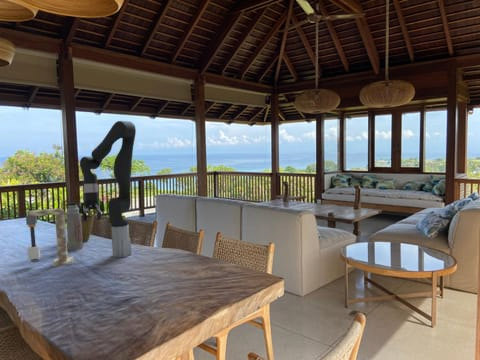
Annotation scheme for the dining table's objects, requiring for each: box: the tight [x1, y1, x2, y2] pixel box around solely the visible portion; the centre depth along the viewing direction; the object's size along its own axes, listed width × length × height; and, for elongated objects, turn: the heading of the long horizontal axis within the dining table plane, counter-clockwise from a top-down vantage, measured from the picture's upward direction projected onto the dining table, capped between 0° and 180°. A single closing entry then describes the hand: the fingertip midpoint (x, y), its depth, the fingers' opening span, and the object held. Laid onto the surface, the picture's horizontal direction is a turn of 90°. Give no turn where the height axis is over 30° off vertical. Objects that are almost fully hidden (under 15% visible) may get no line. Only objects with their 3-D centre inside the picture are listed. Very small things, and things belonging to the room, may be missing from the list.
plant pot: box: [81, 214, 94, 243], centre depth 219 cm, size 15×15×16 cm
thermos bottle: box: [65, 202, 84, 251], centre depth 202 cm, size 8×8×28 cm
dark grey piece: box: [25, 215, 40, 263], centre depth 172 cm, size 4×4×24 cm
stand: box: [27, 207, 74, 267], centre depth 175 cm, size 18×9×29 cm, turn 112°
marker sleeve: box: [27, 244, 41, 260], centre depth 173 cm, size 5×5×6 cm
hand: (92, 220), depth 190 cm, fingers open, 8 cm apart
